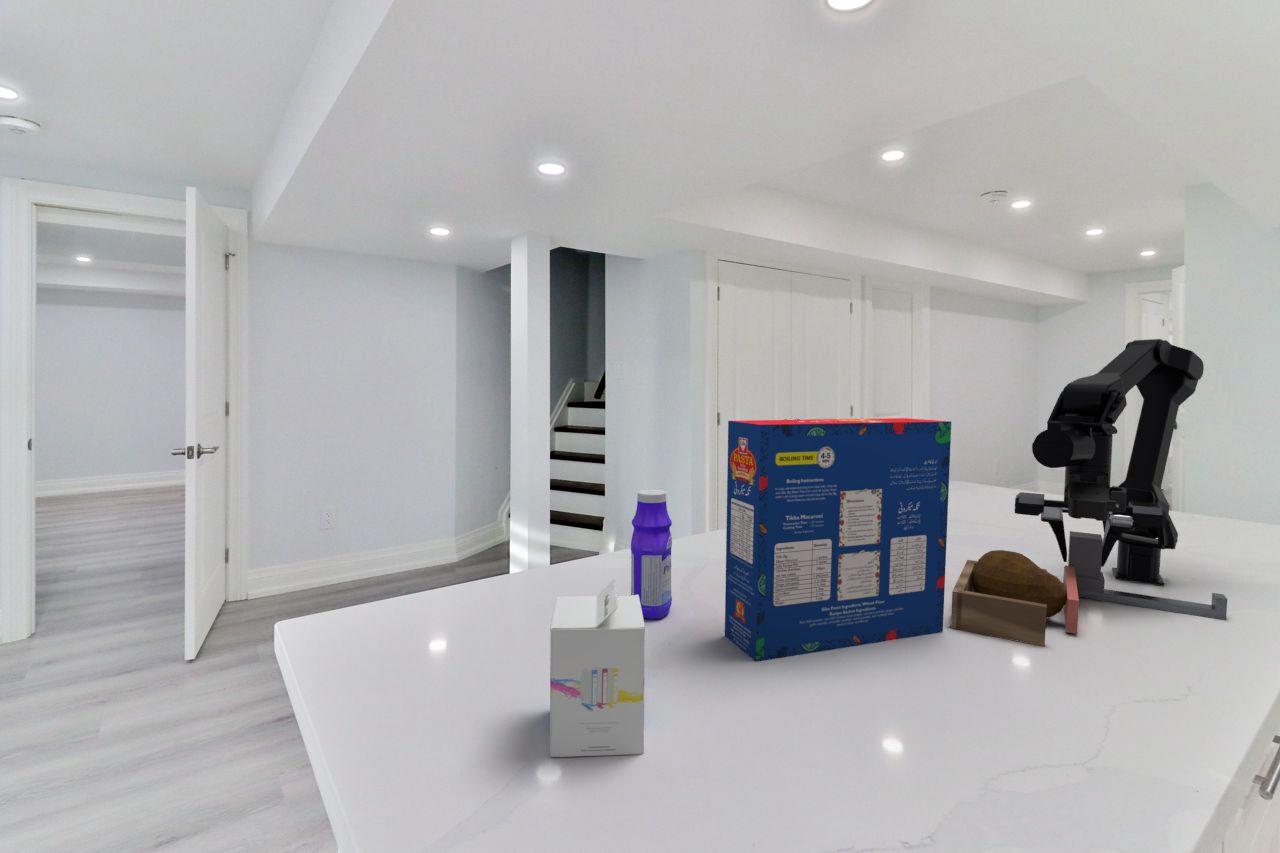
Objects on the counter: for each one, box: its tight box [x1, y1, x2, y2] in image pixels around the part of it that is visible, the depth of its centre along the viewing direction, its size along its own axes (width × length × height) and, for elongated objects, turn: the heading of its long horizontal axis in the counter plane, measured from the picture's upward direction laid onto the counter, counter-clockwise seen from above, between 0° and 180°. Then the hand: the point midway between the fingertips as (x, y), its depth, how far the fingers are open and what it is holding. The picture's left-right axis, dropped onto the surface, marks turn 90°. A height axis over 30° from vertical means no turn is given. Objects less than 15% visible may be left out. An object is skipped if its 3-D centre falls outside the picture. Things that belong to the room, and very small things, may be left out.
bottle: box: [630, 488, 673, 620], centre depth 88 cm, size 7×6×17 cm
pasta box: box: [724, 417, 952, 663], centre depth 81 cm, size 28×8×28 cm, turn 109°
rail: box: [1042, 568, 1228, 621], centre depth 95 cm, size 2×22×3 cm, turn 57°
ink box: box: [549, 579, 646, 758], centre depth 58 cm, size 9×8×13 cm
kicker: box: [1062, 530, 1106, 635], centre depth 90 cm, size 22×5×9 cm, turn 147°
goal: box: [950, 559, 1048, 647], centre depth 89 cm, size 18×11×5 cm, turn 147°
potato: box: [972, 549, 1067, 619], centre depth 90 cm, size 8×12×9 cm
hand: (1083, 563), depth 97 cm, fingers open, 4 cm apart
